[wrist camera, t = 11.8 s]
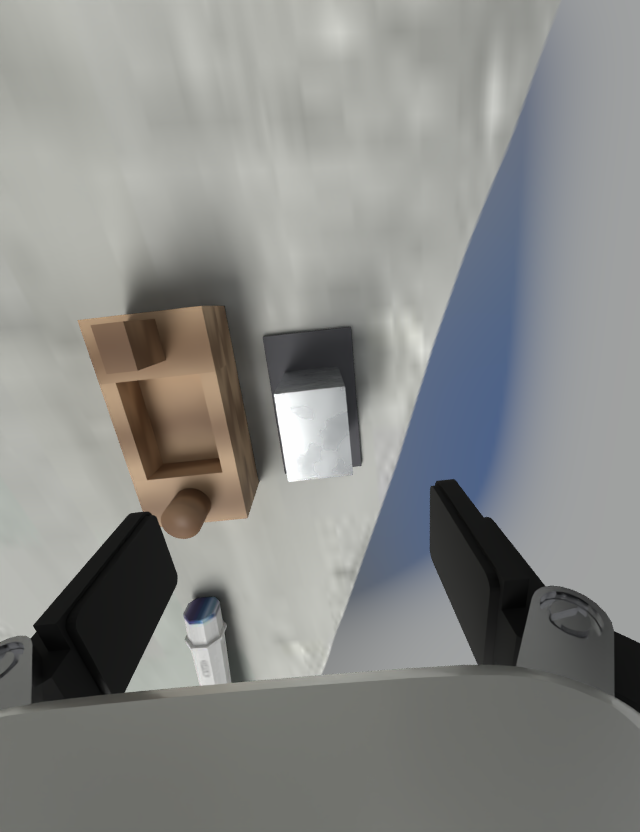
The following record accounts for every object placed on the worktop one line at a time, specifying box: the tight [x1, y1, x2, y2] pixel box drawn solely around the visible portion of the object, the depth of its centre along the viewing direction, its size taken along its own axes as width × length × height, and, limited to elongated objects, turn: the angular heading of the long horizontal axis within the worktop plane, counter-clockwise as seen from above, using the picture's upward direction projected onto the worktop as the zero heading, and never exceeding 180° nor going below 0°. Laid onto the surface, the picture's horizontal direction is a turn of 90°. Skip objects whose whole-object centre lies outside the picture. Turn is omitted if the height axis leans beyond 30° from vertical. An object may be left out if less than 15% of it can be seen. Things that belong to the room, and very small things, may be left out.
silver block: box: [274, 366, 353, 482], centre depth 27 cm, size 7×5×8 cm
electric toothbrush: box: [183, 597, 231, 686], centre depth 41 cm, size 5×7×25 cm
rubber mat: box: [263, 327, 361, 474], centre depth 31 cm, size 14×8×1 cm, turn 6°
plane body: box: [78, 306, 259, 539], centre depth 27 cm, size 18×9×10 cm, turn 6°
